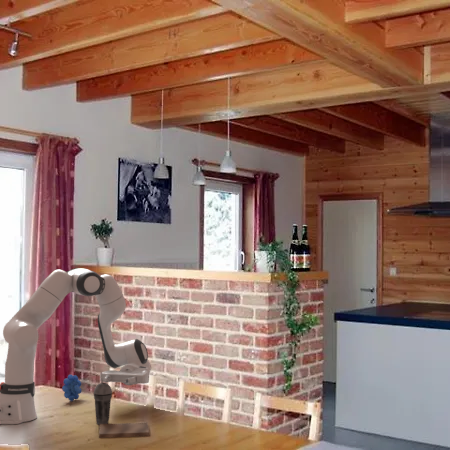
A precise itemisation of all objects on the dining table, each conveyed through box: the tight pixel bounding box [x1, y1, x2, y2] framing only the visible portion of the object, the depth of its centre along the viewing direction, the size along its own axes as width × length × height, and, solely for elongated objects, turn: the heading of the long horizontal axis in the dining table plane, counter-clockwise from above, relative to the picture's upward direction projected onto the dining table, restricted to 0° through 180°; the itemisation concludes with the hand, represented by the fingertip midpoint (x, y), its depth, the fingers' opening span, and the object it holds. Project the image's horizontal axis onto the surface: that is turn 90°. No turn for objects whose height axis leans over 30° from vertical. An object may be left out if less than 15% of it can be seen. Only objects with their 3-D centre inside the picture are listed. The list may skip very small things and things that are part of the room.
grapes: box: [61, 374, 83, 402], centre depth 299 cm, size 12×7×12 cm, turn 150°
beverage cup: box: [93, 371, 113, 426], centre depth 262 cm, size 7×7×20 cm
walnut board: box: [98, 422, 150, 438], centre depth 250 cm, size 18×14×1 cm
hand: (116, 380), depth 274 cm, fingers open, 8 cm apart
